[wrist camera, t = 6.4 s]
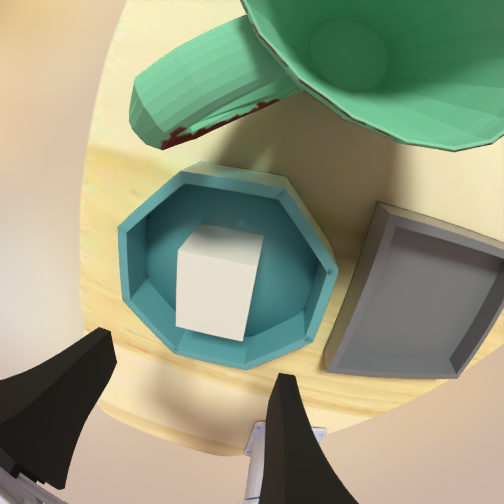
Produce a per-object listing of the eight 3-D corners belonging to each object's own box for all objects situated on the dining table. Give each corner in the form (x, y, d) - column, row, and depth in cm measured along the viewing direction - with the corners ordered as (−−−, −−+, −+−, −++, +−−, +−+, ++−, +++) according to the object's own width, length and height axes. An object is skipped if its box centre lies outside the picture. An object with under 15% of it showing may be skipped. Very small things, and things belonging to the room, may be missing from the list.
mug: (372, -26, 10) (427, -110, 1) (447, 104, 13) (564, 111, 4) (164, 64, 14) (50, 28, 5) (242, 196, 17) (192, 281, 8)
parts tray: (448, 360, 21) (457, 378, 19) (323, 349, 22) (326, 372, 19) (509, 245, 16) (526, 258, 14) (377, 201, 16) (389, 213, 14)
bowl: (297, 347, 22) (297, 378, 19) (144, 314, 22) (127, 339, 19) (346, 189, 16) (358, 204, 13) (145, 155, 17) (118, 163, 14)
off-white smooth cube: (250, 302, 20) (242, 341, 16) (194, 290, 20) (175, 326, 16) (263, 235, 18) (257, 266, 14) (199, 223, 18) (177, 250, 14)
